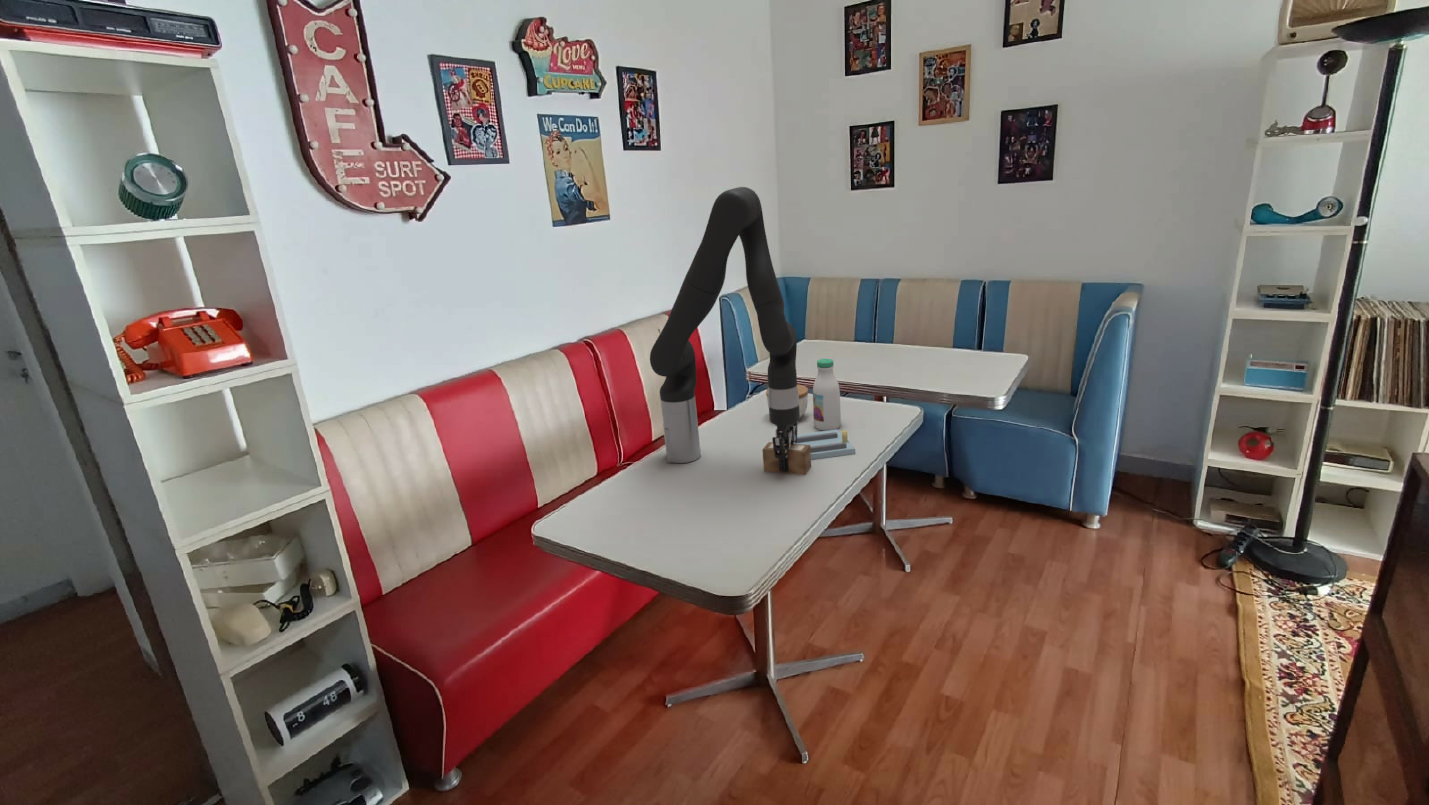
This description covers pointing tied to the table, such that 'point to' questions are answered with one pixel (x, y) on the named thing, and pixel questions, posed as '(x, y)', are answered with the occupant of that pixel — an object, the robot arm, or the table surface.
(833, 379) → the milk bottle
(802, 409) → the lidded bowl
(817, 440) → the light blue flat tray
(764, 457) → the wooden block
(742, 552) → the table surface
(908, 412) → the table surface
